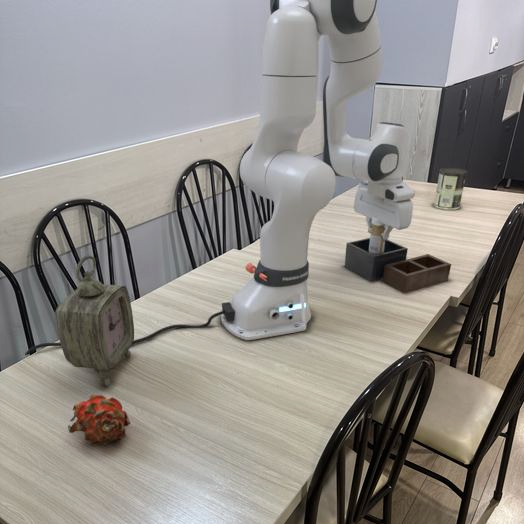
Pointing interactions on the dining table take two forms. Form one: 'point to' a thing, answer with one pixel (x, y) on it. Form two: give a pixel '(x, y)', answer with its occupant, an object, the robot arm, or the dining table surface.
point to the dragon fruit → (100, 419)
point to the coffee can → (450, 188)
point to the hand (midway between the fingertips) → (378, 235)
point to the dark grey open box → (372, 258)
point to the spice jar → (376, 237)
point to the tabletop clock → (95, 324)
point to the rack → (416, 273)
